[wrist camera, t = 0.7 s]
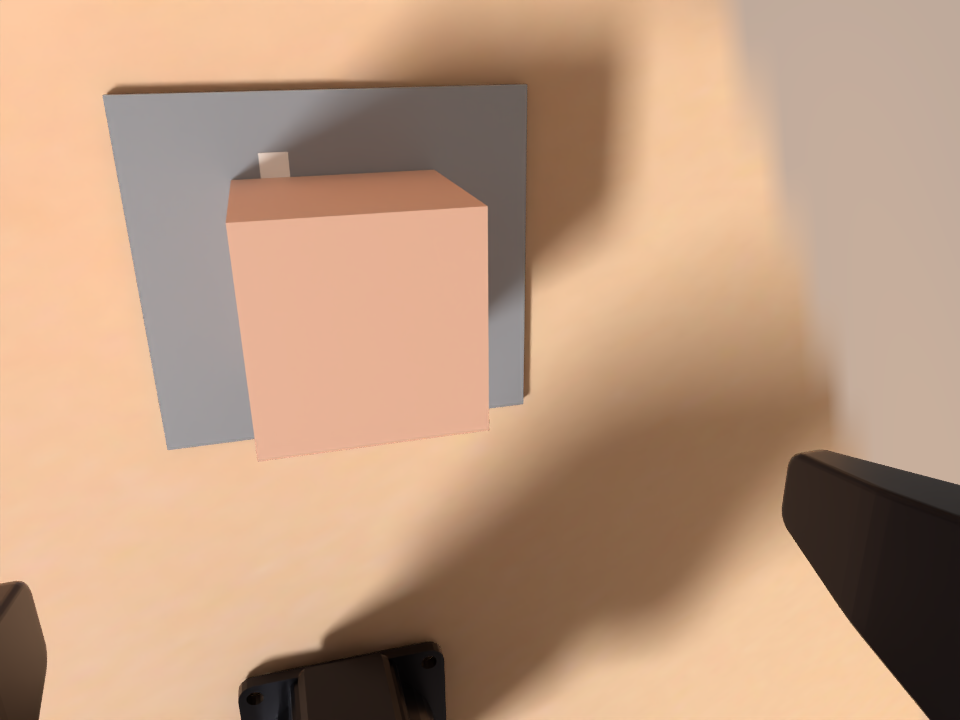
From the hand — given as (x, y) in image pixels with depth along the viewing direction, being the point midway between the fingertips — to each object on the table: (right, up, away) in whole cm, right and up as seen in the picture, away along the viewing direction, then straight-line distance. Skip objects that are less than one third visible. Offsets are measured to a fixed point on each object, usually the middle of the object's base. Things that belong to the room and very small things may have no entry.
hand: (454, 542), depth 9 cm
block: (-3, +4, +11) cm, 13 cm away
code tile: (-3, +5, +12) cm, 13 cm away
